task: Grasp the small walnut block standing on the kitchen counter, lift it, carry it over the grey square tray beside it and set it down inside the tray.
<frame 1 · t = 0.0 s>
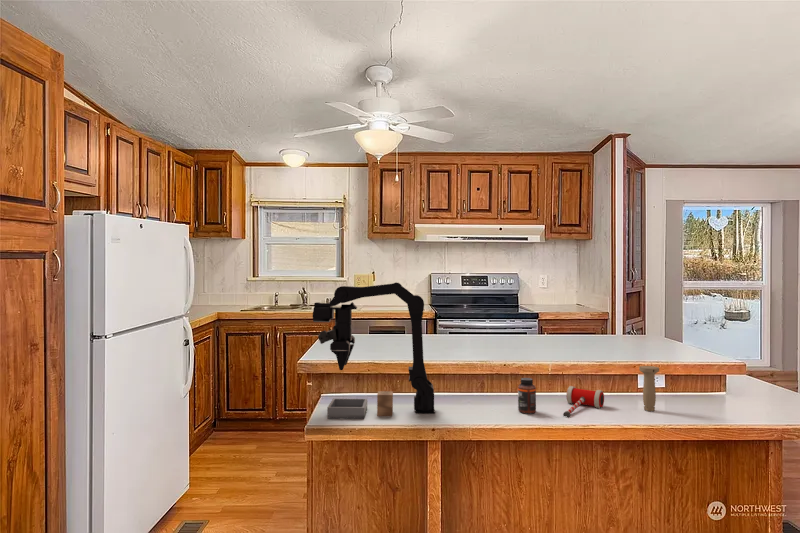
hand: (343, 367, 171), 15 cm above the table, tool pointing down, fingers open, 9 cm apart
grey square tray: (348, 413, 167), on the table
walnut block: (385, 413, 167), on the table
toy hammer: (580, 410, 174), on the table
handle: (649, 411, 172), on the table
supplement bottle: (527, 412, 170), on the table
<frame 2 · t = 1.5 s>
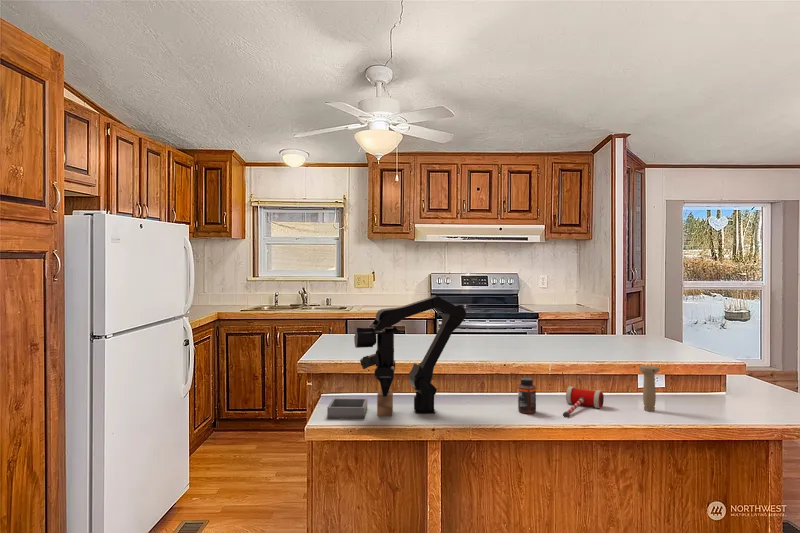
hand: (385, 393, 167), 7 cm above the table, tool pointing down, fingers open, 9 cm apart
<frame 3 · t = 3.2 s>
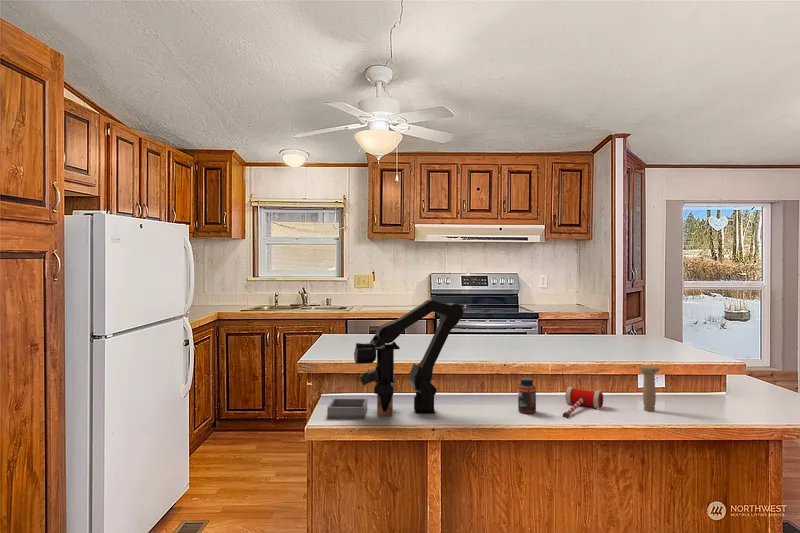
hand: (385, 409, 167), 2 cm above the table, tool pointing down, fingers closed on walnut block, 5 cm apart
walnut block: (385, 413, 167), on the table, touching gripper
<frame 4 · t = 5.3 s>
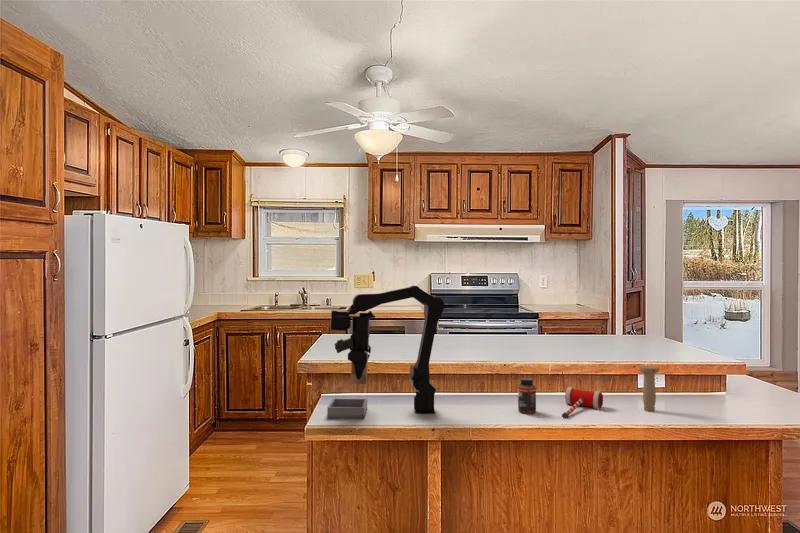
hand: (359, 377, 167), 12 cm above the table, tool pointing down, fingers closed on walnut block, 5 cm apart
walnut block: (359, 382, 167), point 11 cm above the table, touching gripper
when the fingers open (4 cm above the table, at t = 7.7 s): walnut block drops 2 cm, resting on grey square tray.
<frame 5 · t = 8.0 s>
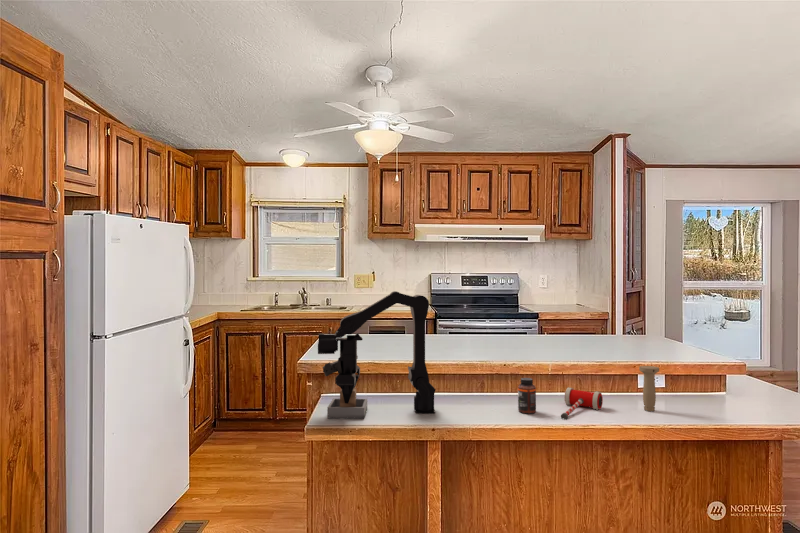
hand: (348, 400, 167), 4 cm above the table, tool pointing down, fingers open, 8 cm apart
walnut block: (348, 410, 167), point 1 cm above the table, touching grey square tray
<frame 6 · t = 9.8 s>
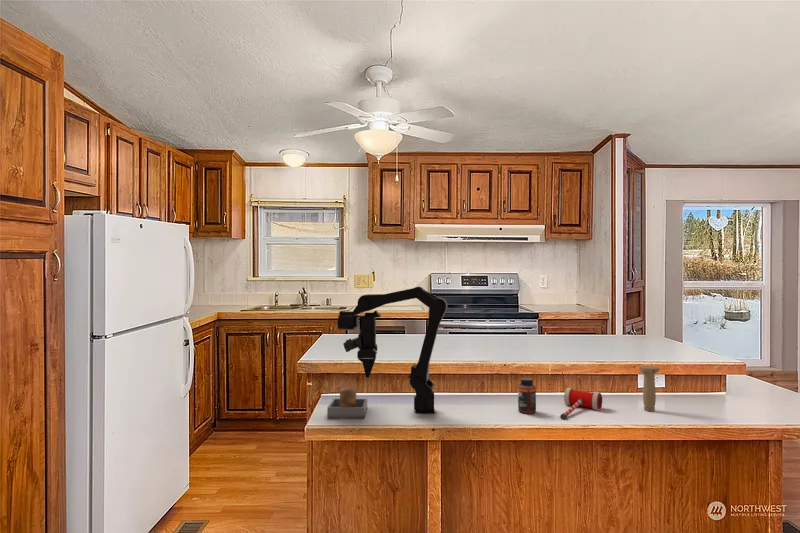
hand: (368, 374, 174), 12 cm above the table, tool pointing down, fingers open, 9 cm apart
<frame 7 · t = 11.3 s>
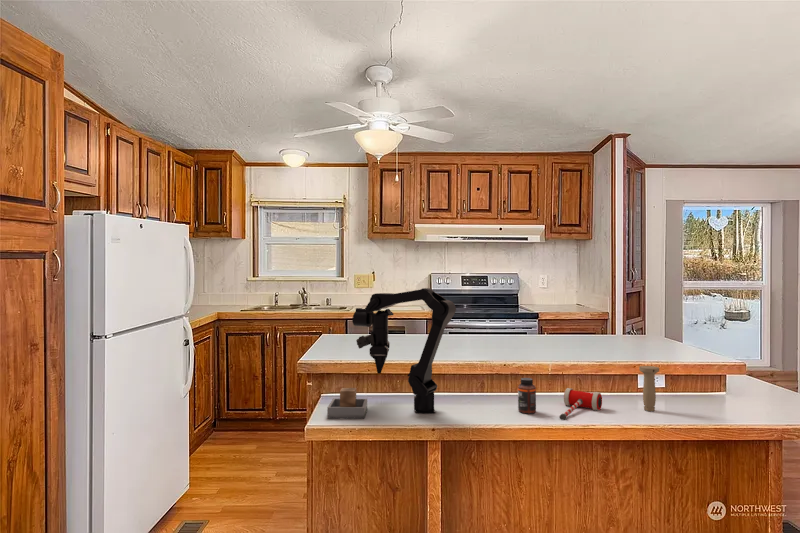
hand: (379, 371, 179), 12 cm above the table, tool pointing down, fingers open, 9 cm apart
at the end: walnut block inside the target area on the grey square tray (0.1 cm from its centre), point 1.0 cm above the grey square tray's base; the gripper is holding nothing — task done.
